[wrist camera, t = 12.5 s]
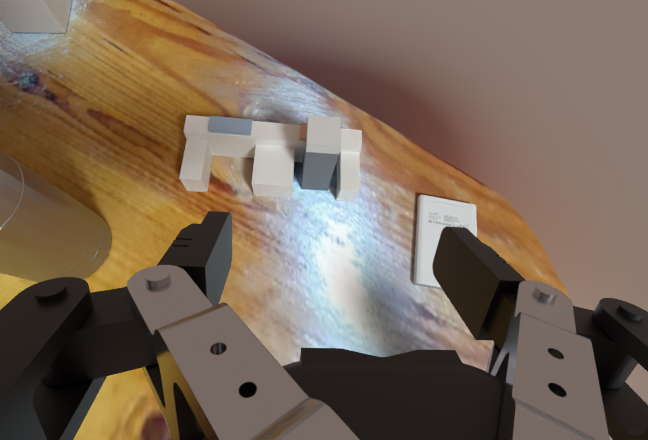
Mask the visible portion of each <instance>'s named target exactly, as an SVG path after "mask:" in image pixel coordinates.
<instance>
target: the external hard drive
mask: <svg viewBox="0 0 648 440" xmlns="http://www.w3.org/2000/svg"><path fill="white" fill-rule="evenodd" d="M446 226H449V227H465V228H467V229H468V230H469V231H470V232H471V233H473V234H474V235H475V236H476V237H477V227H476V205H474V204H469V203H464V202H459V201H453V200H448V199H443V198H438V197H433V196H427V195H420V196H419V197H418V206H417V224H416V243H415V261H414V281H413V284H414V285H419V286H425V287H431V288H436V289H442V288H441V286H440V285H439V283H438V282H437V280H436V279H435V277H434V274H433V269H432V265H433V259H434V256H435V253H436V249H437V246H438V242H439V239H440V235H441V232H442V230H443V228H444V227H446ZM442 290H443V289H442Z"/></svg>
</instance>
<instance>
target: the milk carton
mask: <svg viewBox="0 0 648 440" xmlns="http://www.w3.org/2000/svg"><path fill="white" fill-rule="evenodd" d="M71 4H72V0H0V19H1V21H2V22H3V23H4V24H5V25H6V26H7V27H8V28H9V30H10V31H11V32H21V33H66V30H67V25H68V20H69V15H70V9H71Z"/></svg>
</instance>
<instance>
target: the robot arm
mask: <svg viewBox="0 0 648 440" xmlns="http://www.w3.org/2000/svg"><path fill="white" fill-rule="evenodd" d="M111 241H112V238H111V231H110V228H109V226H108V224H107V223H106V221H105V220H104V219H103V218H102V217H100V216H99V215H98V214H96V213H95V212H94V211H92V210H91V209H89V208H88V207H86V206H85V205H83V204H82V203H80V202H79V201H77V200H76V199H74V198H73V197H71V196H70V195H68V194H67V193H65V192H64V191H62V190H61V189H59V188H58V187H56V186H55V185H53V184H52V183H50V182H49V181H47V180H46V179H44V178H43V177H41V176H40V175H38V174H37V173H35V172H34V171H32V170H31V169H29V168H28V167H26V166H25V165H23V164H22V163H20V162H19V161H17V160H16V159H14V158H13V157H11V156H10V155H8V154H7V153H5V152H4V151H2V150H1V149H0V273H2V274H6V275H11V276H15V277H19V278H23V279H27V280H32V281H36V282H39V283H37V284H34V285H32V286H30V287H28V288H26V289H25V290H23V291H22V292H20V293H19V294H18V295H17V296H16V297H14V298H13V299H12V300H11V301H10V302H9V303H8V304H7V305H6V306H5V307H3V308H2V309H1V310H0V440H73V439H74V437H75V435H76V433H77V431H78V430H79V428H80V426H81V424H82V422H83V420H84V418H85V416H86V415H87V413H88V411H89V409H90V407H91V405H92V403H93V401H94V399H95V398H96V396H97V394H98V392H99V390H100V388H101V386H102V384H103V382H104V381H105V379H106V377H107V376H109V375H113V374H117V373H121V372H125V371H129V370H133V369H138V368H142V369H143V372H144V374H145V376H146V378H147V381H148V383H149V385H150V387H151V389H152V392H153V394H154V396H155V398H156V401H157V403H158V405H159V407H160V410H161V412H162V414H163V416H164V419H165V421H166V424H167V427H168V430H169V434H170V437H171V440H610V439H609V435H610V436H611V438H612V439H613V440H648V405H647V404H646V403H645V402H644V401H643V400H642V399H641V398H640V397H639V396H638V395H637V394H636V393H635V392H634V391H633V390H632V389H631V388H630V387H629V385H628V384H626V382H625V381H626V379H627V378H628V377H629V375H630V374H631V372H632V371H633V370H634V368H635V367H636V365H637V364H638V363H639V364H640V365H641V366H642V367H643V368H644V369H646V370H647V371H648V312H647V311H645V310H643V309H641V308H639V307H637V306H635V305H633V304H630V303H628V302H625V301H621V300H618V299H613V298H604V299H601V300H600V302H599V304H598V305H597V307H596V309H595V310H594V311H592V310H588V309H584V308H579V307H575V306H573V304H572V301H571V300H570V299H569V298H568V297H567V296H566V295H565V294H564V293H562V292H561V291H559V290H558V289H556V288H554V287H552V286H550V285H547V284H544V283H541V282H537V281H529V280H528V281H526V280H525V279H524V278H523V277H522V276H521V275H520V274H519V273H518V272H516V271H515V270H514V269H513V268H512V267H511V266H510V265H509V264H506V261H505V260H504V259H503V258H501V257H499V255H498V254H497V253H496V252H495V251H494V250H493V249H492V248H491V247H489V246H487V245H485V244H484V243H482V242H481V241H480V240H479V239H478V238H477V237H476V236H475V235H474V234H473V233H471V232H470V231H469V230H468V229H467V228H465V227H449V226H446V227H444V228H443V230H442V232H441V235H440V239H439V242H438V246H437V249H436V253H435V256H434V259H433V265H432V269H433V274H434V277H435V279H436V280H437V282H438V283H439V285H440V286H441V288H442V289H443V291H444V292H445V294H446V295H447V297H448V298H449V300H450V301H451V303H452V304H453V306H454V307H455V309H456V310H457V312H458V314H459V315H460V317H461V318H462V320H463V321H464V323H465V324H466V326H467V327H468V329H469V330H470V332H471V333H472V335H473V336H474V338H475V339H476V340H493V341H494V343H493V346H492V348H491V350H490V354H489V359H488V364H487V368H486V371H483V370H481V369H478V368H476V367H473V366H470V365H467V364H463V363H462V362H461V360H460V358H459V356H458V354H457V353H456V351H455V350H416V351H411V352H407V353H403V354H398V355H394V356H389V357H377V356H372V355H368V354H363V353H358V352H354V351H349V350H345V349H336V348H301V355H300V361H298V362H294V363H291V364H288V365H285V366H281V365H280V364H279V362H278V361H277V360H276V359H275V358H274V357H273V356H272V354H271V353H270V352H269V351H268V350H267V349H266V347H265V346H264V345H263V344H262V343H261V342H260V341H259V339H258V338H257V337H256V336H255V335H254V334H253V332H252V331H251V330H250V329H249V328H248V327H247V325H246V324H245V323H244V322H243V321H242V320H241V319H240V317H239V316H238V315H237V314H236V313H235V312H234V310H233V309H232V308H231V307H230V306H229V305H228V304H227V303H221V304H219V301H220V298H221V295H222V292H223V289H224V285H225V282H226V279H227V276H228V273H229V270H230V267H231V261H232V217H231V213H230V212H215V211H209V212H208V213H207V215H206V217H205V218H204V220H203V222H202V223H201V224H191V225H189V226H187V227H186V228H184V229H182V230H181V231H180V233H179V234H178V236H177V237H176V240H174V241H173V243H172V244H171V246H170V247H169V249H168V250H167V252H166V253H165V254H164V256H163V257H162V259H161V260H160V262H159V263H158V265H157V266H152V267H148V268H145V269H143V270H141V271H139V272H137V273H135V274H134V275H133V276H132V277H131V278H130V279H129V280H128V283H127V287H123V288H118V289H112V290H105V291H99V292H92V293H90V290H89V285H88V283H87V282H86V281H85V280H83V279H84V278H86V277H88V276H90V275H91V274H92V273H94V272H95V271H96V270H97V269H98V268H99V267H100V266H101V265H102V264H103V262H104V261H105V259H106V257H107V256H108V253H109V251H110V248H111Z"/></svg>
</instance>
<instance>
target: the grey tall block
mask: <svg viewBox="0 0 648 440" xmlns="http://www.w3.org/2000/svg"><path fill="white" fill-rule="evenodd" d="M340 148H341V118H338V117H326V116H314V115H308V119H307V128H306V137H305V145H304V154H303V163H302V186H301V189H310V190H327V191H328V188H329V185H330V181H331V178H332V175H333V172H334V168H335V165H336V162H337V158H338V155H339V152H340Z"/></svg>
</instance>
